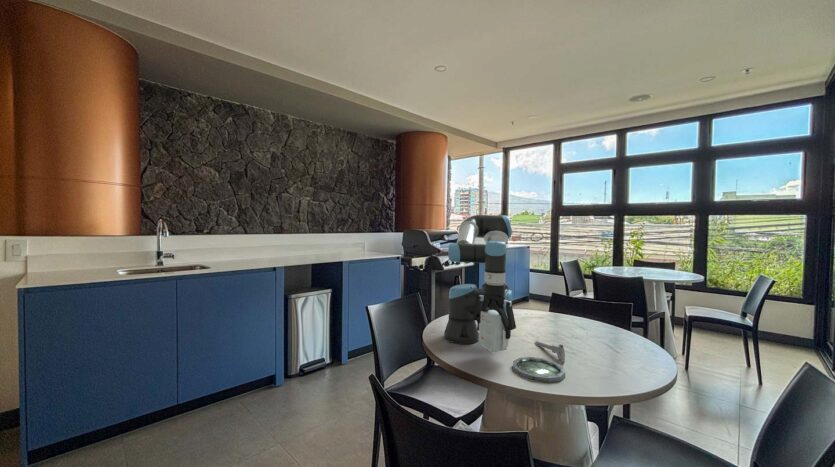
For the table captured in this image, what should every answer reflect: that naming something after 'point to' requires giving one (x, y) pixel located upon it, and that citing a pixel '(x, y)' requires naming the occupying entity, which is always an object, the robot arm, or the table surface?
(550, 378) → the steel bowl
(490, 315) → the small box
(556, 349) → the caliper
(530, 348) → the table surface
